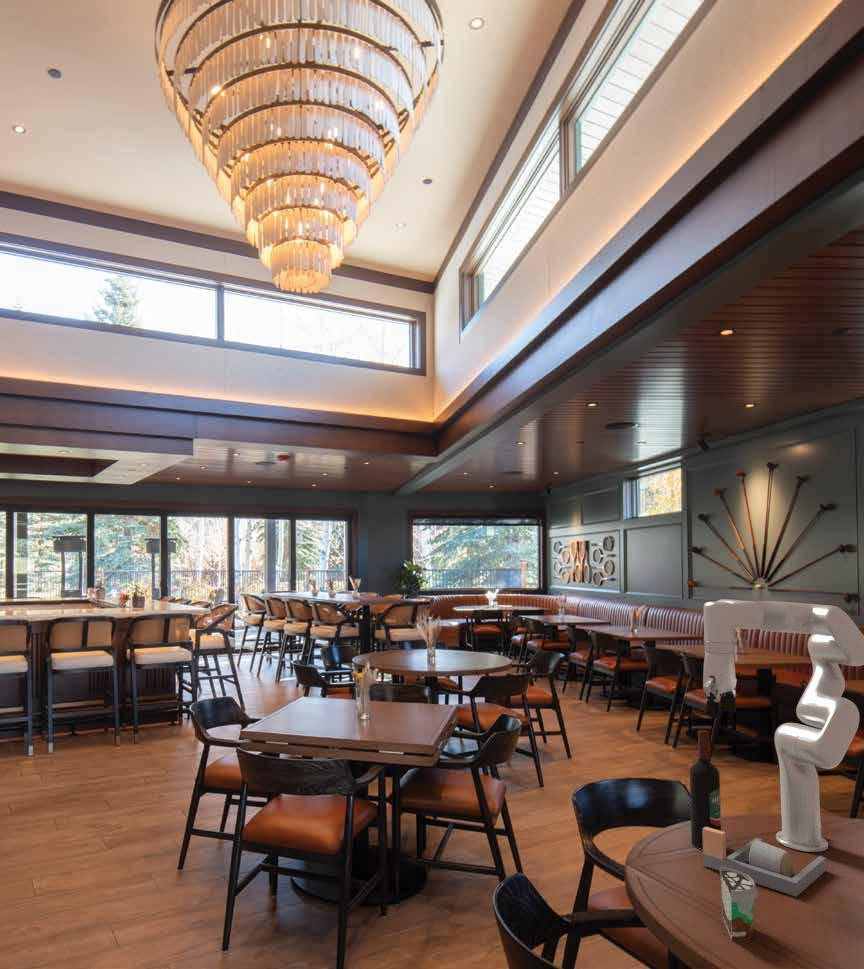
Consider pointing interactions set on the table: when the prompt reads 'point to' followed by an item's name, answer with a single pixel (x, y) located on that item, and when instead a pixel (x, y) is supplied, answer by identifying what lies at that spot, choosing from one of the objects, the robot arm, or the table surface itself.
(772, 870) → the ceramic mug
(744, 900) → the food container
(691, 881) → the table surface
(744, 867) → the pull frame
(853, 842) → the table surface
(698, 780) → the wine bottle
